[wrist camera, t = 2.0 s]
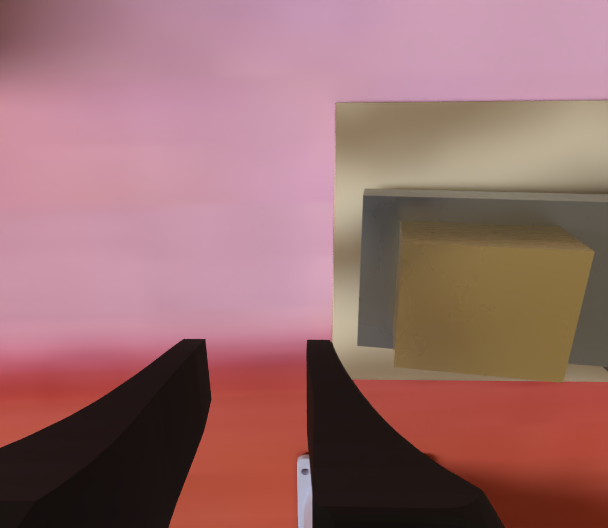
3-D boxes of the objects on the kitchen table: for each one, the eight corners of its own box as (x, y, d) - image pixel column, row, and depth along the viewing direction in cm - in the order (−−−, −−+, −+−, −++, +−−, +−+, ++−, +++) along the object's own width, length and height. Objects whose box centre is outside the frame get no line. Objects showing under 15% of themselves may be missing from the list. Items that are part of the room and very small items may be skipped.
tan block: (536, 340, 18) (563, 382, 16) (392, 329, 19) (393, 367, 17) (559, 226, 17) (594, 251, 14) (400, 220, 18) (403, 243, 15)
